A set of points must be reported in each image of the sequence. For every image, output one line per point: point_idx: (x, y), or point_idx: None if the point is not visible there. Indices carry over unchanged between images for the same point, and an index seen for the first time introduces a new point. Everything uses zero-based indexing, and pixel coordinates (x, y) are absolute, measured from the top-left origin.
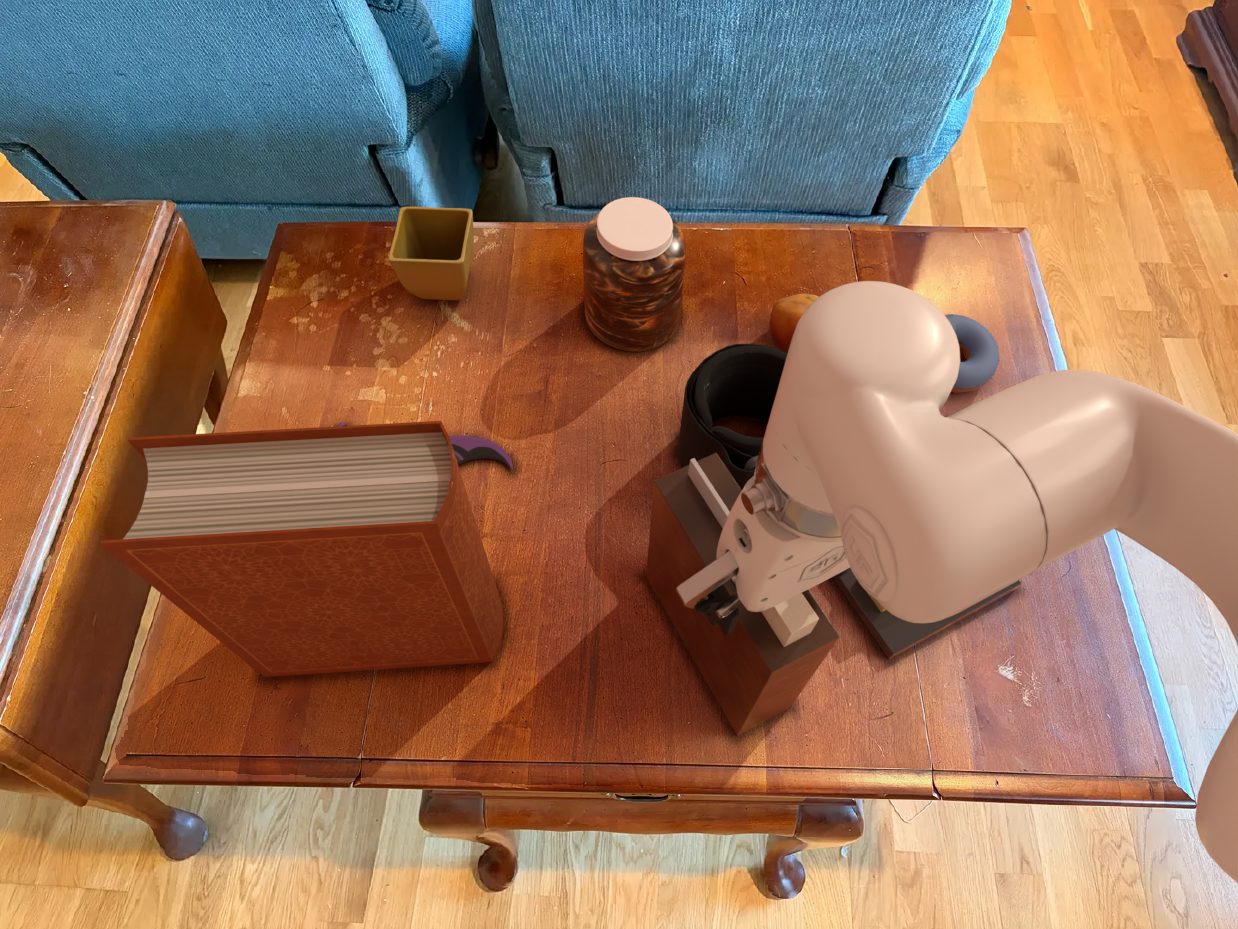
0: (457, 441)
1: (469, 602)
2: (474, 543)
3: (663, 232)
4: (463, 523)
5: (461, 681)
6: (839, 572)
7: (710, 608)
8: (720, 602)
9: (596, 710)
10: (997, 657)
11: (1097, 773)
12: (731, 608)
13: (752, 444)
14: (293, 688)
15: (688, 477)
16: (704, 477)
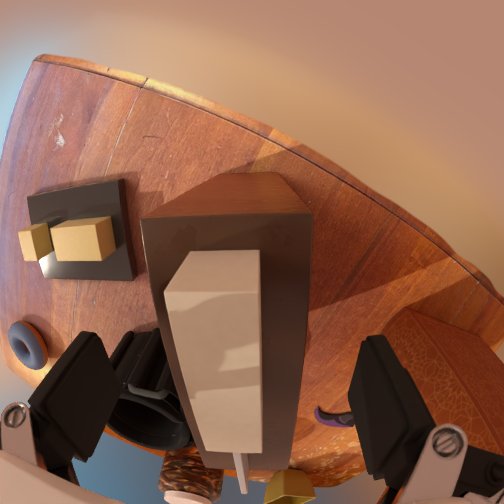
0: (335, 424)
1: (460, 384)
2: None
3: (171, 498)
4: None
5: (424, 301)
6: (46, 493)
7: (497, 476)
8: (459, 480)
9: (368, 245)
10: (60, 152)
11: (57, 65)
12: (446, 464)
13: (156, 406)
14: (476, 327)
15: (249, 465)
16: (242, 485)
